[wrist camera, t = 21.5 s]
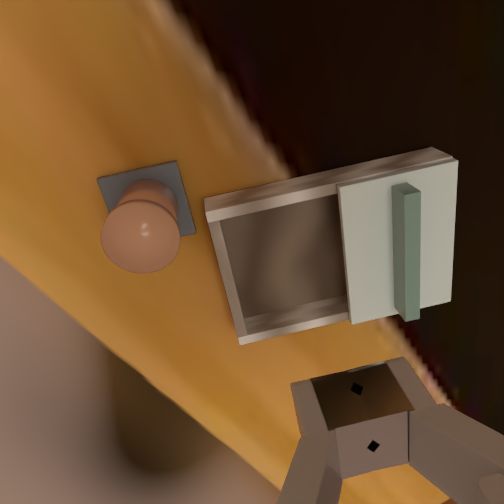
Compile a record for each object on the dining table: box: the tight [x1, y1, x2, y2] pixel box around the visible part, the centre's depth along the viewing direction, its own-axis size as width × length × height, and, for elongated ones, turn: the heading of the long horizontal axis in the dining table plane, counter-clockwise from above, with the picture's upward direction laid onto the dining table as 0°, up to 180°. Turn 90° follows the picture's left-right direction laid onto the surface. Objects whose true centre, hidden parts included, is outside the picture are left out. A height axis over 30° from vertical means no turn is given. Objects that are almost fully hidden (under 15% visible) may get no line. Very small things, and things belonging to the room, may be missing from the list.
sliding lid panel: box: [337, 159, 458, 325], centre depth 38 cm, size 10×15×3 cm
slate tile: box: [97, 160, 196, 237], centre depth 38 cm, size 7×7×1 cm
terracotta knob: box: [101, 179, 180, 273], centre depth 34 cm, size 6×6×7 cm
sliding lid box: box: [204, 147, 453, 345], centre depth 41 cm, size 22×15×4 cm
